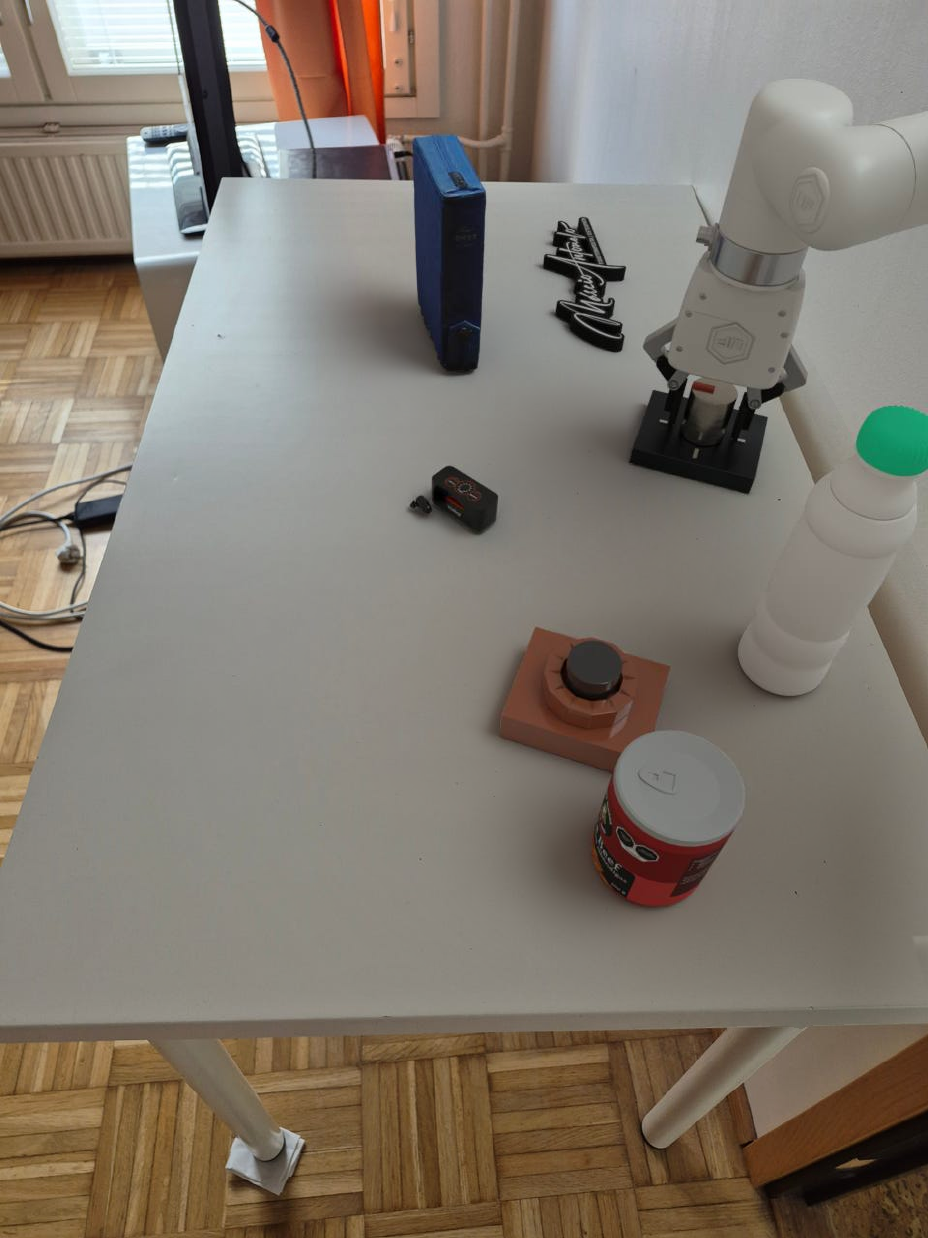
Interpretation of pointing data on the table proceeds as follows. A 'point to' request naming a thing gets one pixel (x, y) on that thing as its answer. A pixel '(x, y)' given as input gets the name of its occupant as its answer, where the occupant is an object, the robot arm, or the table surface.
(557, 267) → the nameplate
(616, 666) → the button
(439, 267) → the book
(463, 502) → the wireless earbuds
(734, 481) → the panel
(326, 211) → the table surface
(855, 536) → the water bottle
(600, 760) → the push button box
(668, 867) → the canned food
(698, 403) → the dial
